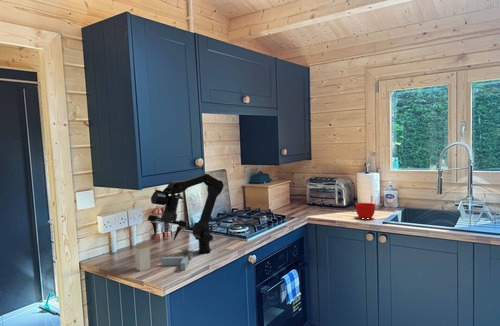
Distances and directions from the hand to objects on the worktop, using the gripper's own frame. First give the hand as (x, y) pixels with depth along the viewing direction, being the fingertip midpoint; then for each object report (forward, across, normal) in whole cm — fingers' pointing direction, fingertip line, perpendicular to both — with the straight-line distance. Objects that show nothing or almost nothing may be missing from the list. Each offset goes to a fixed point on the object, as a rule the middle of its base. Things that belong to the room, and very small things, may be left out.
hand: (164, 238), depth 172 cm
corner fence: (+12, +8, -4) cm, 14 cm away
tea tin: (+15, -6, -3) cm, 16 cm away
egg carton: (+10, +10, +6) cm, 15 cm away
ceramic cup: (-30, +125, +71) cm, 147 cm away
